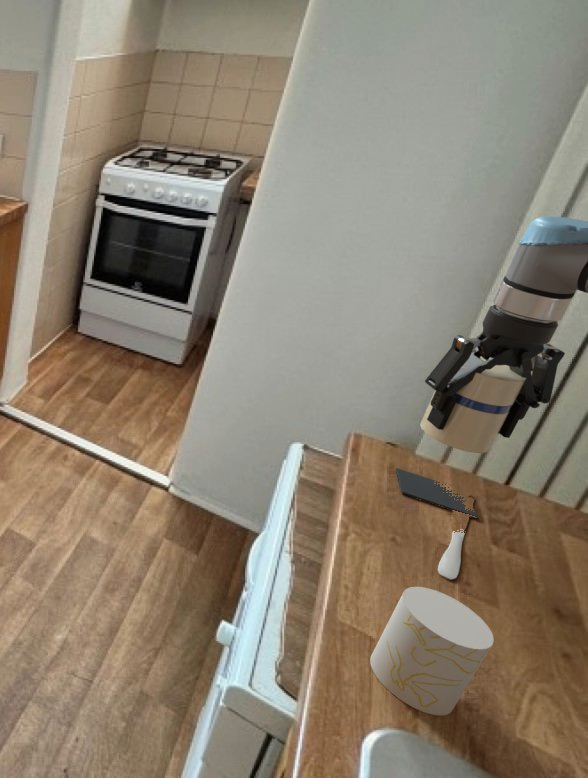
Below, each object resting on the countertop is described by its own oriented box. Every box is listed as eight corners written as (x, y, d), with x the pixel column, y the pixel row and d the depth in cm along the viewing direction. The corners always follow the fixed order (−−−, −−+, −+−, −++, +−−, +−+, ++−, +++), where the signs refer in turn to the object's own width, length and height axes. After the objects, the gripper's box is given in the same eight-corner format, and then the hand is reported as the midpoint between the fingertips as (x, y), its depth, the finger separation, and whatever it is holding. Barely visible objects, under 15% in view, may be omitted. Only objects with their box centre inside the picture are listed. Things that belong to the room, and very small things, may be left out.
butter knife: (429, 567, 93) (456, 580, 91) (457, 491, 109) (480, 500, 107) (428, 570, 94) (455, 583, 91) (456, 493, 110) (479, 502, 107)
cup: (366, 680, 78) (399, 615, 73) (373, 638, 83) (405, 575, 79) (452, 730, 72) (494, 663, 68) (454, 682, 78) (493, 617, 73)
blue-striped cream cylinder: (464, 423, 109) (505, 456, 100) (407, 416, 110) (443, 449, 102) (496, 355, 103) (543, 384, 95) (436, 349, 105) (477, 377, 97)
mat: (467, 493, 109) (468, 490, 109) (477, 519, 103) (478, 517, 103) (395, 469, 114) (396, 467, 114) (401, 493, 109) (402, 491, 108)
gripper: (583, 309, 96) (522, 423, 105) (429, 295, 100) (381, 407, 108) (631, 331, 89) (562, 452, 98) (463, 316, 93) (410, 433, 101)
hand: (467, 428), depth 103 cm, fingers closed on blue-striped cream cylinder, 9 cm apart
